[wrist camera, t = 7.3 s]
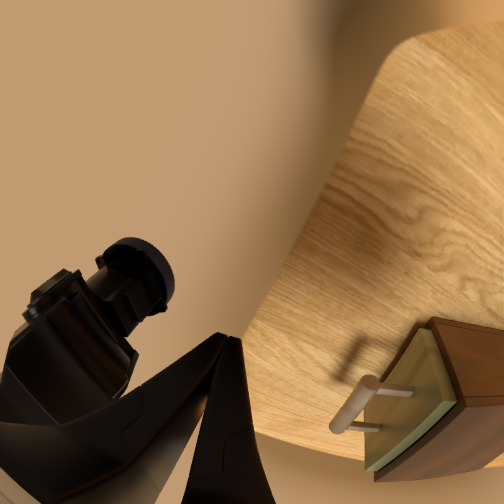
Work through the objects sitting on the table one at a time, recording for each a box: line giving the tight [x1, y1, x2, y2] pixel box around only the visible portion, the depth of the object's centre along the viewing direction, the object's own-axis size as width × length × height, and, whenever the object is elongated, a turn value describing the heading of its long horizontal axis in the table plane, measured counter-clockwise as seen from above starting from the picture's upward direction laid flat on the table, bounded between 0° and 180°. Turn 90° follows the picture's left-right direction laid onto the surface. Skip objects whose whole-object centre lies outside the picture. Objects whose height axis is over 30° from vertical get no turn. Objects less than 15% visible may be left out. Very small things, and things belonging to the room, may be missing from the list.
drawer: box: [329, 328, 457, 471], centre depth 16 cm, size 17×10×7 cm, turn 81°
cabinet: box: [374, 317, 504, 482], centre depth 16 cm, size 14×12×9 cm
